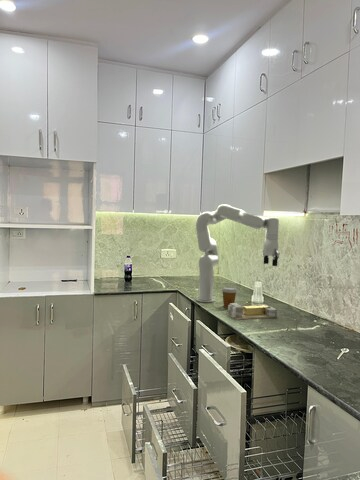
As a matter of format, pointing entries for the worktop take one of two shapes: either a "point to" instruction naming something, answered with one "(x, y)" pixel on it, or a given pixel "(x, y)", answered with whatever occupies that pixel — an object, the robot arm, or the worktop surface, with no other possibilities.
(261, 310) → the brass tube
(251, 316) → the tray with grey blocks
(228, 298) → the disposable coffee cup
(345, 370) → the worktop surface
